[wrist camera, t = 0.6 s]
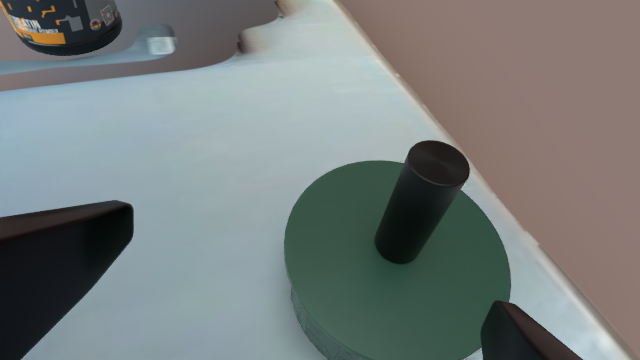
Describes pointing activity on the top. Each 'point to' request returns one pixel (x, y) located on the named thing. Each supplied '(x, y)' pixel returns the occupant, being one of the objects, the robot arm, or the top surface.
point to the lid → (397, 257)
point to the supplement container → (64, 24)
